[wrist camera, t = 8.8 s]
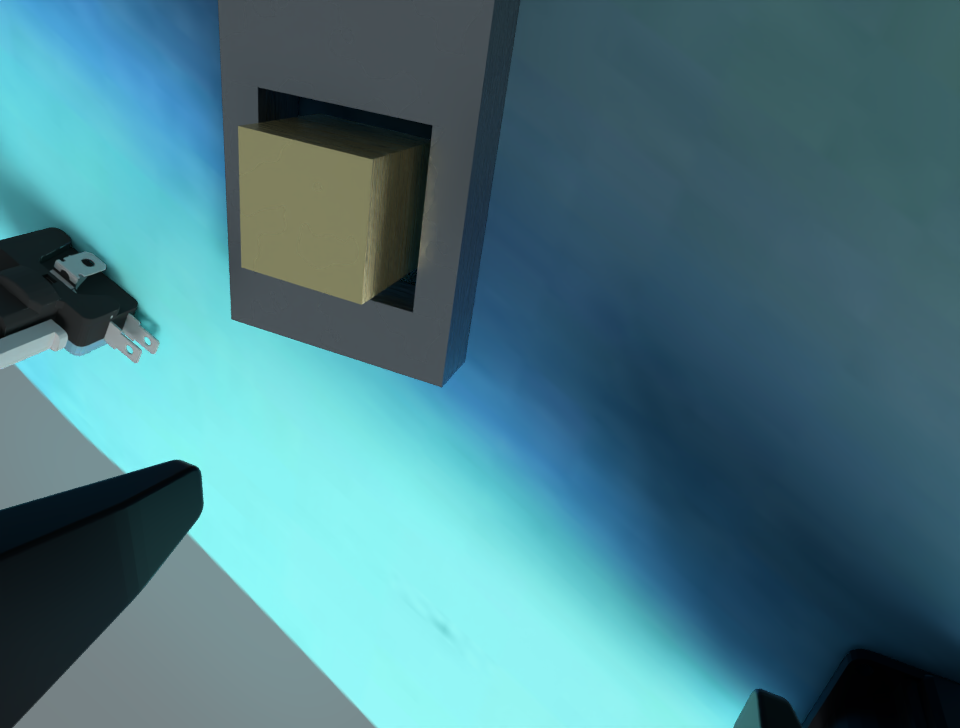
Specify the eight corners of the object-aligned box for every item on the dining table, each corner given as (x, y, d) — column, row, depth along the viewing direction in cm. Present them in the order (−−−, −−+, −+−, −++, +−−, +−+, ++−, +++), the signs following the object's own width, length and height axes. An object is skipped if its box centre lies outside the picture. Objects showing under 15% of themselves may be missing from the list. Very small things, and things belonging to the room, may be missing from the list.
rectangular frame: (464, 361, 22) (441, 387, 21) (267, 300, 24) (231, 319, 23) (599, -520, 13) (577, -605, 11) (256, -505, 15) (193, -577, 13)
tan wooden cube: (421, 264, 22) (361, 304, 18) (317, 234, 23) (241, 267, 19) (436, 140, 20) (372, 159, 16) (321, 113, 21) (238, 125, 17)
